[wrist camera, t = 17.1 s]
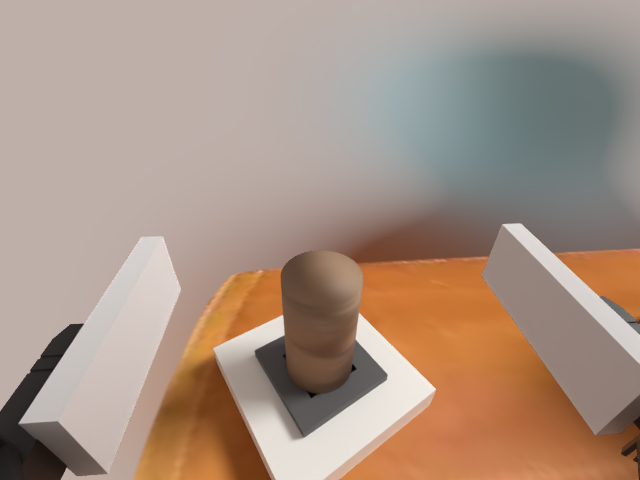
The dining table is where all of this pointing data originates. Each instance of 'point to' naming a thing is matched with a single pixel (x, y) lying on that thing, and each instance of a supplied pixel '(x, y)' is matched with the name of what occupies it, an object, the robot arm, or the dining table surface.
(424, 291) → the dining table surface
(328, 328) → the peg
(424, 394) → the frame
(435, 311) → the dining table surface
